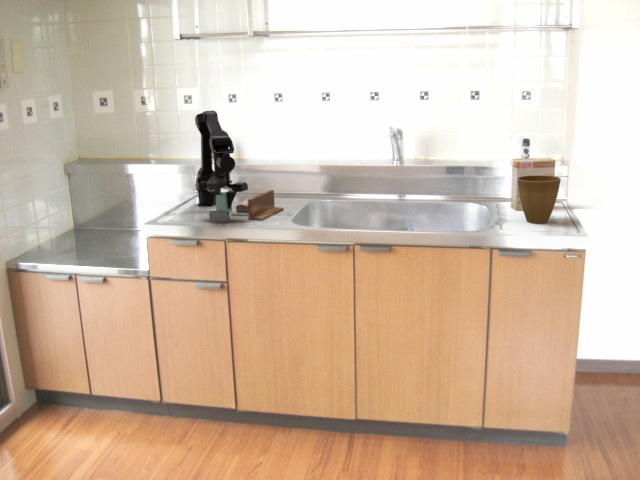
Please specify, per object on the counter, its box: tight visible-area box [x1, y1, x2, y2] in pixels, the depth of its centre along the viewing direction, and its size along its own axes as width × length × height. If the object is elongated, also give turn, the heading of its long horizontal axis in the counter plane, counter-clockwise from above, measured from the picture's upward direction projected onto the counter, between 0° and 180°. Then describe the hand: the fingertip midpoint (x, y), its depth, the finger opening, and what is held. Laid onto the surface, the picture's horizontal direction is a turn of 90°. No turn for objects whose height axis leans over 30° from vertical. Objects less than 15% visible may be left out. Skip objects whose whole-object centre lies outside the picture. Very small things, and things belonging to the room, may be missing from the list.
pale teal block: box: [215, 192, 233, 213], centre depth 272 cm, size 4×5×7 cm
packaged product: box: [230, 197, 251, 217], centre depth 288 cm, size 18×5×10 cm
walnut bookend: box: [248, 189, 284, 222], centre depth 280 cm, size 6×20×8 cm, turn 158°
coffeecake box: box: [510, 157, 556, 211], centre depth 278 cm, size 15×7×20 cm, turn 92°
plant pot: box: [517, 175, 562, 224], centre depth 257 cm, size 15×15×16 cm
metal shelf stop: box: [208, 210, 231, 224], centre depth 269 cm, size 8×1×4 cm, turn 69°
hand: (224, 208), depth 273 cm, fingers closed on pale teal block, 4 cm apart
